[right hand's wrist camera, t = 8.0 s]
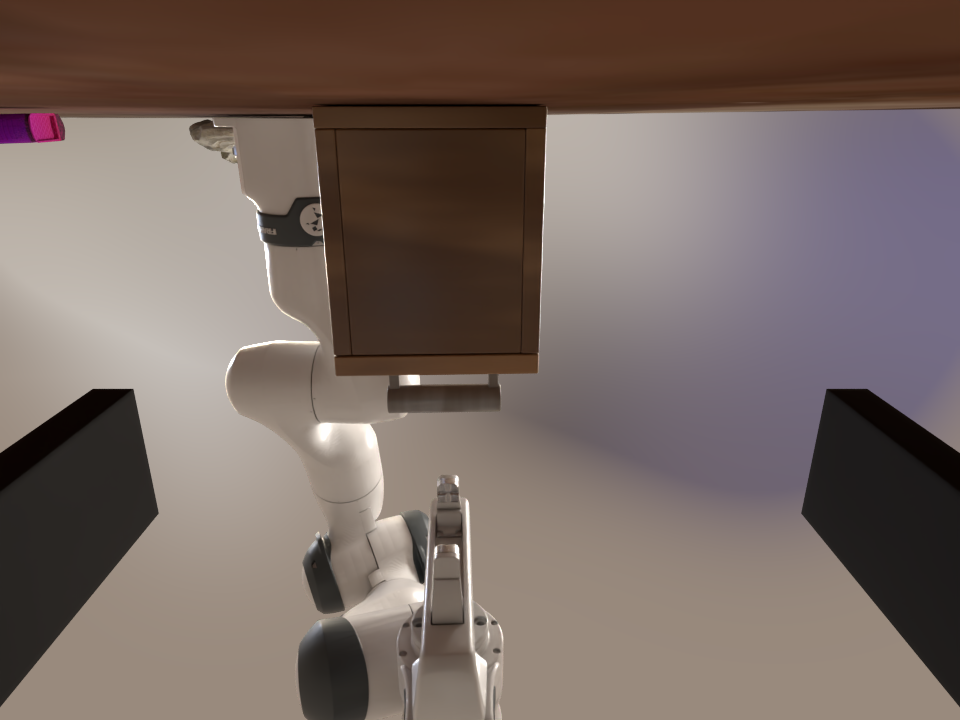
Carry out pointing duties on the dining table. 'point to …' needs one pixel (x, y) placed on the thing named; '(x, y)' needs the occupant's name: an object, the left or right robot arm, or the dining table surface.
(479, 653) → the left robot arm
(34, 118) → the handgun
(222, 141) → the fossil
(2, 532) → the right robot arm
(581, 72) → the dining table surface
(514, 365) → the lid
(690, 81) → the dining table surface
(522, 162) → the chest
